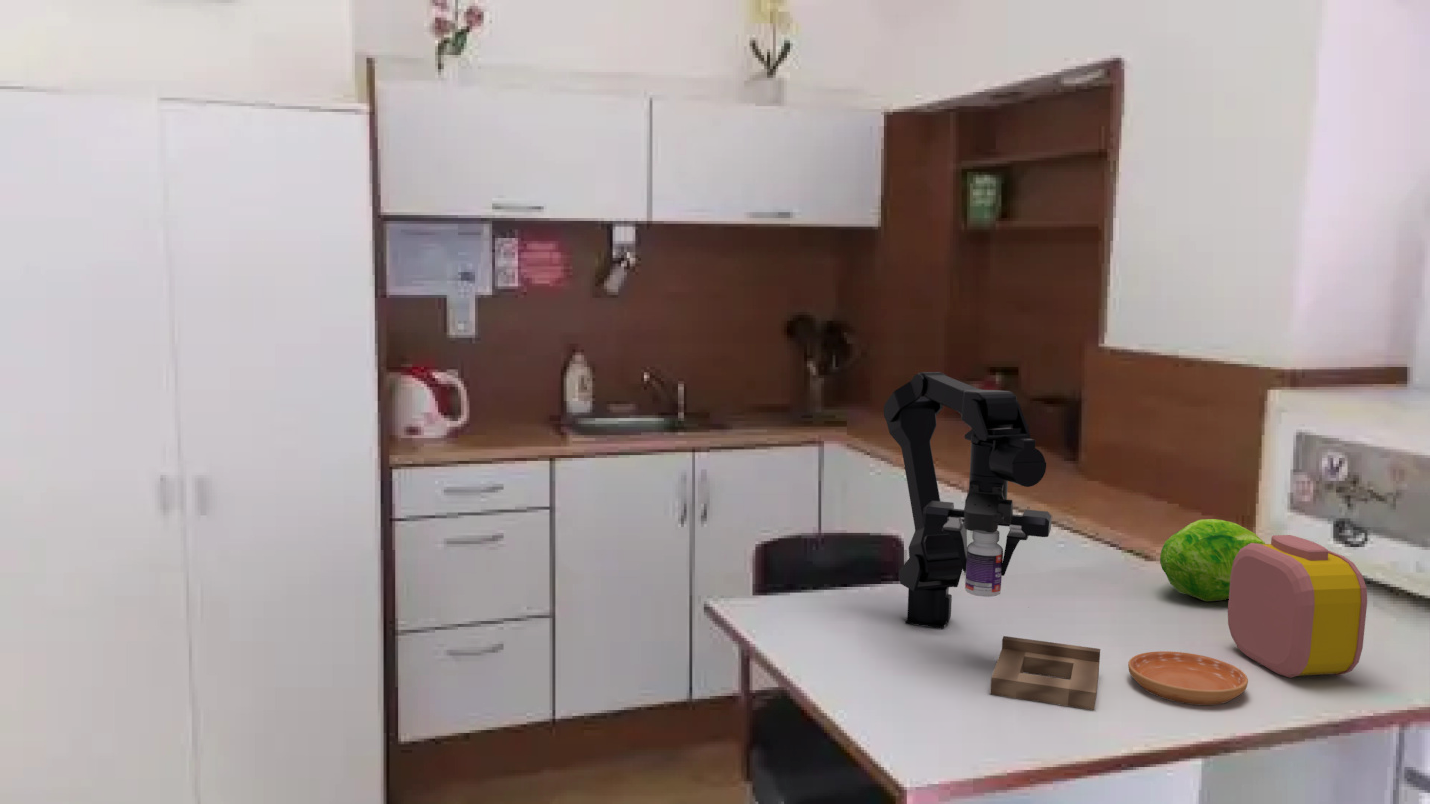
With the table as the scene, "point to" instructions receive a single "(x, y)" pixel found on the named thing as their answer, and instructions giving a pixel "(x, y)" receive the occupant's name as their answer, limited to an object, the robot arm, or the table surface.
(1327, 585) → the alarm clock
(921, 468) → the robot arm
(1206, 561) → the lettuce
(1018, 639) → the socket
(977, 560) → the pill bottle
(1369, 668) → the table surface
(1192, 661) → the saucer
